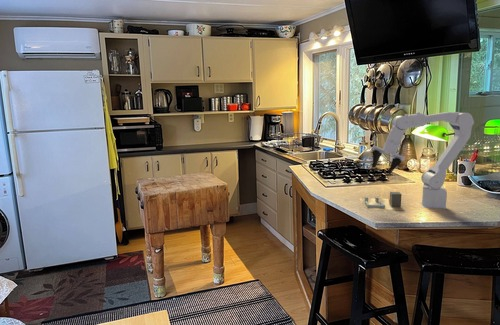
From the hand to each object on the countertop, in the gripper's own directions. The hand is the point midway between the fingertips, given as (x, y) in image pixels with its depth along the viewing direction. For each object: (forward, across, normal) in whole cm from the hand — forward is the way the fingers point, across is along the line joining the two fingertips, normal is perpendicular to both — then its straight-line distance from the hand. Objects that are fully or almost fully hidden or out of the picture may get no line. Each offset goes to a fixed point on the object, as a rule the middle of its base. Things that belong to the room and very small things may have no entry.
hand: (381, 170), depth 166 cm
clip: (+16, -2, +8) cm, 18 cm away
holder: (+16, +3, +2) cm, 16 cm away
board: (+15, +4, +6) cm, 17 cm away
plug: (+13, +7, +10) cm, 18 cm away
